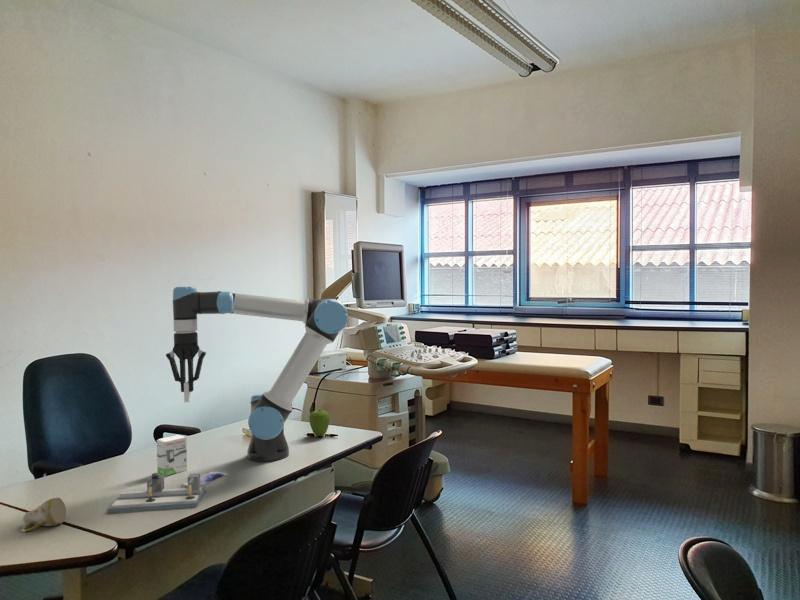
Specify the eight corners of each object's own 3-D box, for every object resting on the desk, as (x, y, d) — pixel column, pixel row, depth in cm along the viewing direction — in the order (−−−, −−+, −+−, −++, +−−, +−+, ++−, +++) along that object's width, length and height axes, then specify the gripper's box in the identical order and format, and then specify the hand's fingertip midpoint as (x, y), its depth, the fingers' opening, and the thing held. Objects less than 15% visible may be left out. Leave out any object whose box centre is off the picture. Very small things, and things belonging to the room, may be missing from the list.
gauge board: (205, 491, 178) (205, 470, 178) (196, 507, 165) (196, 484, 165) (123, 496, 175) (123, 475, 174) (108, 513, 162) (107, 490, 162)
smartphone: (229, 473, 193) (196, 487, 180) (229, 476, 193) (196, 490, 180) (213, 470, 196) (179, 484, 183) (213, 473, 196) (179, 487, 183)
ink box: (164, 476, 192) (163, 441, 192) (156, 474, 195) (155, 439, 195) (187, 470, 199) (187, 436, 199) (180, 467, 202) (179, 434, 202)
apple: (312, 433, 245) (312, 406, 245) (332, 433, 245) (331, 406, 244) (307, 439, 237) (306, 411, 236) (327, 439, 236) (326, 411, 236)
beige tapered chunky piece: (28, 522, 157) (48, 487, 159) (58, 538, 156) (78, 504, 158) (9, 526, 150) (31, 490, 152) (40, 544, 149) (62, 507, 151)
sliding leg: (164, 489, 174) (163, 471, 174) (157, 498, 166) (156, 480, 166) (150, 490, 173) (149, 472, 173) (142, 499, 166) (142, 481, 166)
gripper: (207, 330, 199) (209, 398, 200) (168, 331, 198) (170, 400, 198) (203, 332, 192) (205, 402, 193) (162, 333, 190) (164, 404, 191)
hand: (187, 401), depth 195 cm, fingers closed
